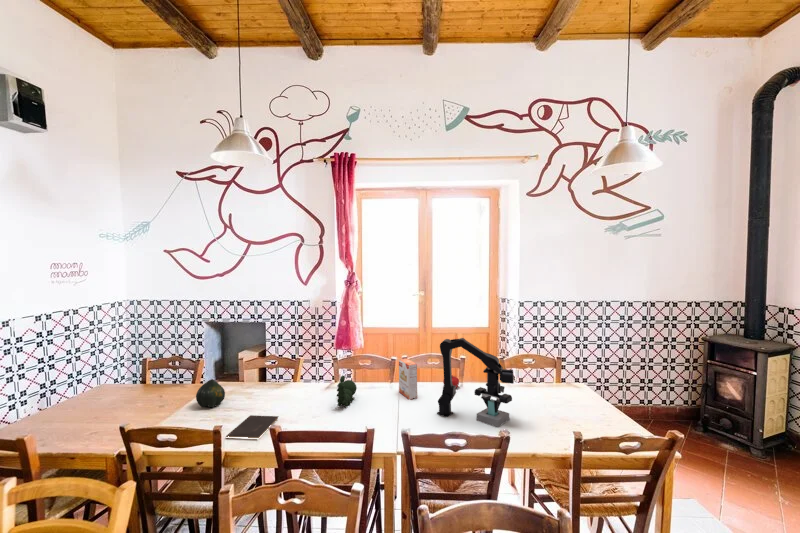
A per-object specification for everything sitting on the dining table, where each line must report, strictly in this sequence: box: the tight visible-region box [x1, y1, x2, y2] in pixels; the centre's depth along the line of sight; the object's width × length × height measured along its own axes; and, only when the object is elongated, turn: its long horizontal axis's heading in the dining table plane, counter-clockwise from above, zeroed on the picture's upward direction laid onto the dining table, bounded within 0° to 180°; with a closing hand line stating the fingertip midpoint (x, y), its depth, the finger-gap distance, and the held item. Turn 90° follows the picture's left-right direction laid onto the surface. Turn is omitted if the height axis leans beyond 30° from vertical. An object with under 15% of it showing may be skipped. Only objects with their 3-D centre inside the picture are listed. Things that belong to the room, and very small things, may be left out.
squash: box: [195, 378, 226, 408], centre depth 226 cm, size 14×15×15 cm
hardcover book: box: [225, 414, 280, 438], centre depth 196 cm, size 16×23×2 cm
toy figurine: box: [336, 375, 358, 407], centre depth 229 cm, size 9×19×25 cm
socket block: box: [475, 407, 510, 428], centre depth 204 cm, size 12×12×4 cm
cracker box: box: [398, 357, 418, 400], centre depth 239 cm, size 14×6×21 cm, turn 25°
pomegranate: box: [442, 374, 460, 389], centre depth 253 cm, size 10×10×9 cm
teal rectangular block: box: [488, 398, 498, 416], centre depth 203 cm, size 4×4×8 cm
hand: (492, 411), depth 203 cm, fingers closed on teal rectangular block, 4 cm apart
